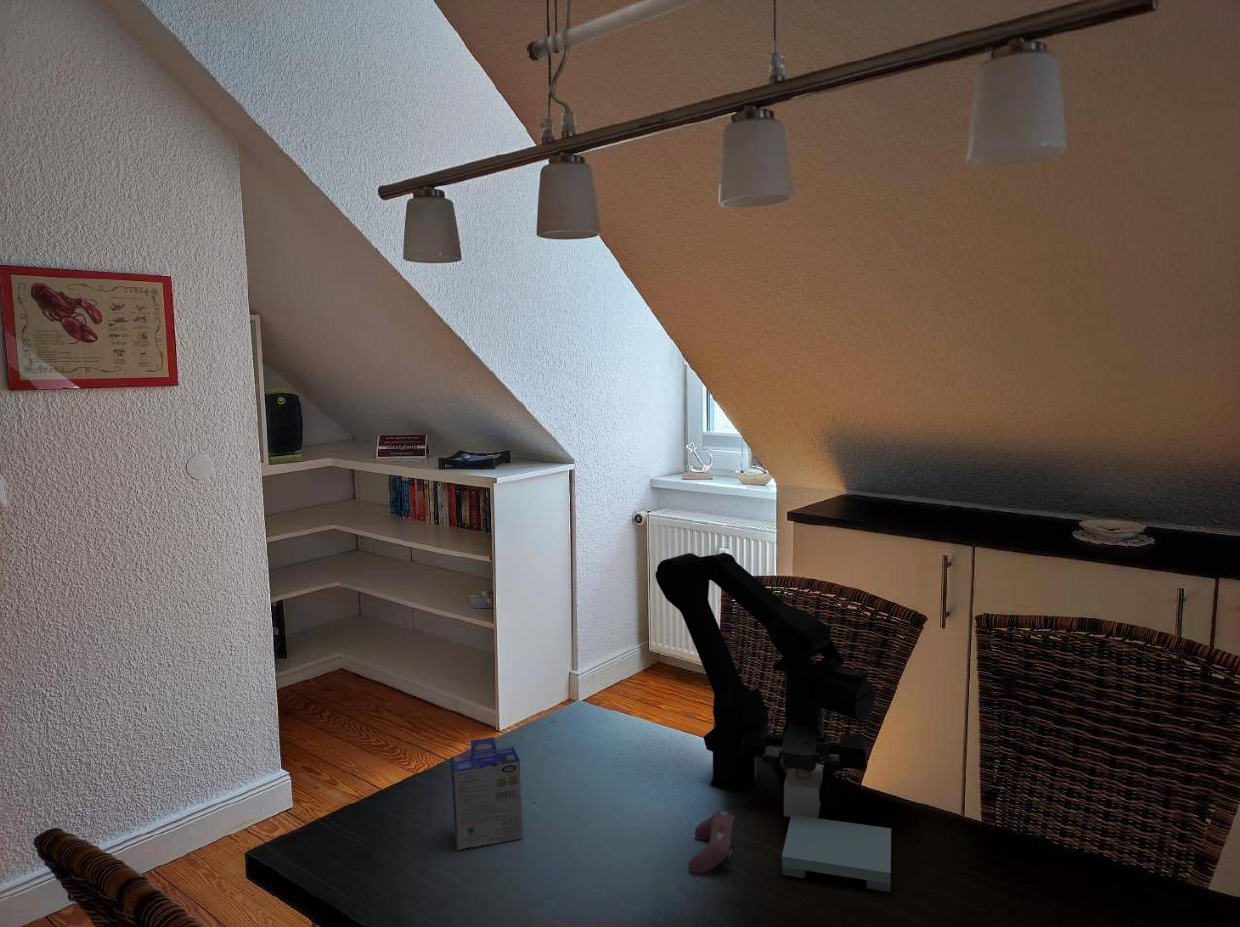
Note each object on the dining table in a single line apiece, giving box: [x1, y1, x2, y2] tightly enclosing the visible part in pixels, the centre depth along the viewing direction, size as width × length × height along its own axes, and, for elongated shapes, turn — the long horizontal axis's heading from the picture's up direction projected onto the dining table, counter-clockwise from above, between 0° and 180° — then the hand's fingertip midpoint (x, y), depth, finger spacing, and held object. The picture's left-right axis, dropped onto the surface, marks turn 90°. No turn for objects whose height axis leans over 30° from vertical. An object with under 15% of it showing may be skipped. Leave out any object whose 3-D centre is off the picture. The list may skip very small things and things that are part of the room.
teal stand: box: [781, 815, 892, 893], centre depth 120 cm, size 14×11×3 cm
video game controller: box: [687, 809, 735, 874], centre depth 122 cm, size 10×5×7 cm, turn 169°
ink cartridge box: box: [449, 737, 524, 851], centre depth 128 cm, size 10×6×14 cm, turn 108°
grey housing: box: [783, 763, 823, 818], centre depth 134 cm, size 5×8×6 cm, turn 162°
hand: (803, 798), depth 134 cm, fingers closed on grey housing, 5 cm apart
